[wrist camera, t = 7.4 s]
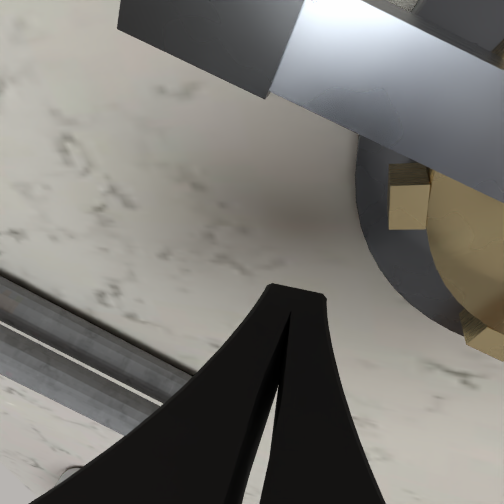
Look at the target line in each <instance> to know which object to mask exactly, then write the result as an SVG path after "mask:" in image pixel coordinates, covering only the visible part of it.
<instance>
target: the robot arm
mask: <svg viewBox="0 0 504 504" xmlns="http://www.w3.org/2000/svg"><path fill="white" fill-rule="evenodd" d="M326 302H327V298H326V297H325V296H324V295H323V294H321V293H317V292H312V291H307V290H302V289H298V288H293V287H288V286H284V285H279V284H274V283H271V284H269V285H267V287H266V288H265V290H264V292H263V294H262V295H261V297H260V298H259V300H258V301H257V303H256V304H255V306H254V307H253V308H252V310H251V311H250V312H249V314H248V315H247V316H246V318H245V319H244V320H243V322H242V323H241V324H240V325H239V326H238V328H237V329H236V330H235V331H234V332H233V334H232V335H231V336H230V337H229V338H228V340H227V341H226V342H225V343H224V344H223V345H222V347H221V348H220V349H219V350H218V351H217V352H216V353H215V354H214V355H213V356H212V357H211V358H210V359H209V360H208V361H207V363H206V364H205V365H204V366H203V367H202V368H201V369H200V370H199V371H198V372H197V373H196V374H195V375H194V376H193V377H192V378H191V379H190V380H189V381H188V382H187V383H186V384H185V385H184V386H183V387H182V388H180V389H179V390H178V391H177V392H176V393H175V394H174V395H173V396H172V397H171V398H169V399H168V400H167V401H166V402H165V403H164V404H163V405H162V406H161V407H159V408H158V409H157V410H156V411H155V412H153V413H152V414H151V415H150V416H149V417H147V418H146V419H145V420H144V421H143V422H141V423H140V424H139V425H138V426H137V427H135V428H134V429H133V430H132V431H130V432H129V433H128V434H127V435H125V436H124V437H123V438H122V439H120V440H119V441H118V442H116V443H115V444H114V445H112V446H111V447H110V448H108V449H107V450H106V451H104V452H103V453H101V454H100V455H99V456H97V457H96V458H95V459H93V460H92V461H90V462H89V463H88V464H86V465H85V466H83V467H82V468H81V469H79V470H78V471H77V472H75V473H74V474H72V475H71V476H70V477H68V478H67V479H65V480H64V481H63V482H61V483H60V484H58V485H57V486H55V487H54V488H52V489H51V490H49V491H48V492H46V493H45V494H43V495H41V496H40V497H38V498H37V499H35V500H34V501H32V502H31V503H29V504H242V501H243V497H244V492H245V489H246V485H247V482H248V478H249V475H250V471H251V468H252V465H253V462H254V459H255V456H256V453H257V450H258V446H259V443H260V440H261V437H262V434H263V431H264V428H265V425H266V422H267V419H268V416H269V413H270V410H271V406H272V403H273V400H274V397H275V394H276V391H277V388H278V394H277V402H276V410H275V418H274V426H273V434H272V442H271V450H270V458H269V462H268V467H267V472H266V476H265V481H264V485H263V490H262V494H261V499H260V504H386V503H385V501H384V499H383V496H382V494H381V492H380V489H379V487H378V485H377V482H376V480H375V477H374V475H373V473H372V470H371V468H370V465H369V463H368V460H367V458H366V455H365V453H364V450H363V447H362V445H361V442H360V439H359V437H358V434H357V431H356V428H355V425H354V422H353V420H352V417H351V414H350V410H349V407H348V404H347V401H346V398H345V395H344V391H343V388H342V384H341V381H340V377H339V373H338V369H337V365H336V361H335V357H334V353H333V348H332V343H331V338H330V332H329V326H328V318H327V304H326ZM278 385H279V386H278Z"/></svg>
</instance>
